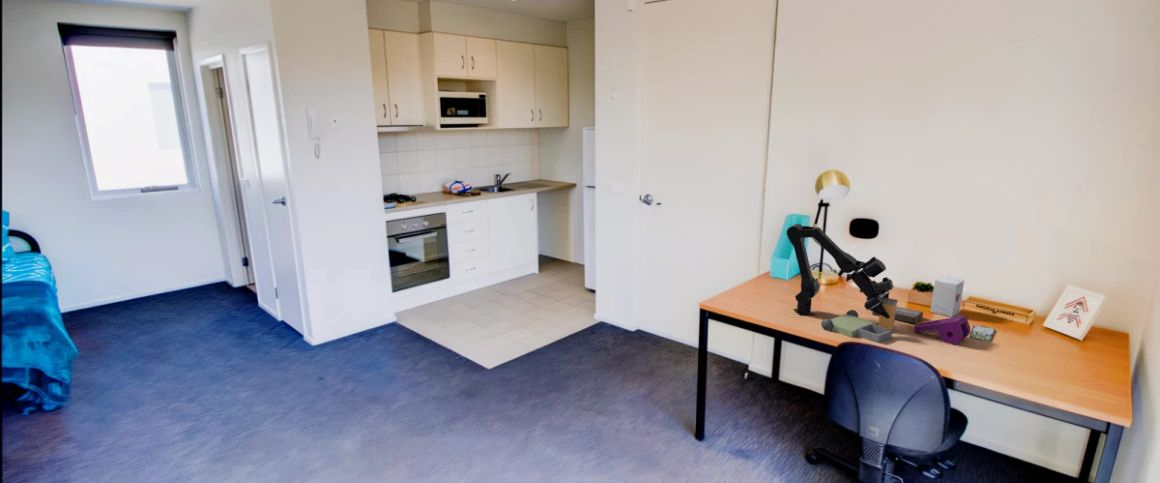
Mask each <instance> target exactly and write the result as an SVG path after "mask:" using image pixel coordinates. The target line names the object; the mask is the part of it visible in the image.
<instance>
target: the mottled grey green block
mask: <svg viewBox="0 0 1160 483" xmlns="http://www.w3.org/2000/svg"><path fill="white" fill-rule="evenodd" d="M995 330H996V329H995V328H994V327H990V326H989V327H988V326H983V325H979V324H973V326H972V328H971V329H970V334H969V335H968V338H969V339H973V340H977V341H980V342H981V341H982V342H987V343H991V342H992V339H993V337H994V334H995Z"/></svg>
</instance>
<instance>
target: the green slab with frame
mask: <svg viewBox="0 0 1160 483" xmlns="http://www.w3.org/2000/svg"><path fill="white" fill-rule="evenodd" d="M820 324H821V328H822V329H823V330H824V331H831V332H835V333H837V334H841V335H843V336H846V337H848V338H853V337H856V336H857V337H860V338H863V339H866V340H868V341H870V342H875V343H877V344H879V343H882V342H884V341H886V340H889V339H891V338H892V334H893V333H892V330H889V329H886V328H883V327H880V326H878V325H877V324H876V322H874V321H871V320H869V319H865V318H861V317H859V313H858V312H857V310H855V309H851V310H850V309H849V310H848V311H846V313H845V314H842V315H840V316H837V317H834V318H831V319H830V318H825V319H822V320H821V322H820Z"/></svg>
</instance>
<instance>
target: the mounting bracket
mask: <svg viewBox="0 0 1160 483" xmlns="http://www.w3.org/2000/svg"><path fill="white" fill-rule="evenodd" d="M913 329H914V331H915V332H916V333H922V332H929V331H937V334H938V336H939V339H940V340H941V341H942V342H943V343H945V344H950V345H957V344H958V343H959V342H961V341H962V340H964V339H965V338H967V337H969V335H970V333H971V325H970V323H969V320H968V318H967V315H961V316H953V317H947V318H941V319H935V320H934V319H933V320H928V321H924V322H920V323H917V324H916V323H915V325H913Z"/></svg>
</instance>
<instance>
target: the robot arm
mask: <svg viewBox="0 0 1160 483" xmlns="http://www.w3.org/2000/svg"><path fill="white" fill-rule="evenodd" d="M786 236H787V238H788V240H789V243H790V244H791V245H792V246H793V248H794V252H795V258H796V261H797V265H798V268H799V269H798V270H799V274H800V278H801V280H800V281H801V282H800V291H799V292H798V293H797V294H796V295H795V296H794V298H795V300H796V302H797V304H796V308H793V311H794V312H795V313H797V315H799V316H809V315H811V316H813V315H814V312H812V311H811V310H812V300H813V298H814V297H815V296H816V295H817V294H818V293H819V292H820V288H821V285H820V284H819V283H820V282H819V278H818V277H817V278H815V277H814V276H813V274H812V270H811V265H810V261H809V257H808V254H807V249H806V244H805V240H806V238H807V239H808V238H813V239H814V240H815V241H816V242H817V244H819V245H820V246H821V247H822V248H823V249H824V250H825V251H826V252H827V253H828V254H829V255H830V256H832V258H833V259H834V261H835V263H836V265H837V266H838V268H839V270H840V271H841V272H842V273H845V274H846V275H845V276H846V279H845V281H846V282H849V281H850V280H851V281H853V283H854V284H855V286H856V287H857V288H858V289H859V292H860V293H861V294H863V295H864V296H865V297H866V301H865V302H864V304H863V306H864V308H865V309H866V310H867V311H870V312H872V311H873V312H875V313H877V314H879V315H881V316H883V317H885V318H887V319H888V318H890V316H889V314H888V313H887V311H886V310H885V308H884V307H883V301H882V298H883V297H884V298H890V291H891V290H893V288H894V284H893V280H891V278H889V277H887V276H886V277H883V278H882V279H881V280H882V281H879V282H877V281H876V280H872V279H871V278H873V279H874V278H876V277H877V276H878V275H880V274H883V272H885V271H887V267H886V265H885V264H884V263H883V261H881V260H880V259H878V258H877V257H876V256H872V257H871V258H870V259H869V260H867V261H866V262H864V261H860V260H858V259H856V258H855V257H854V256H852V255H851V254H850V253H847V252H845V251H844V250H842V249H841V248H840V247H839V246H838V245H837V244H836V243H835V242H834V241H833V240H832V239H831V238H830V237H829V236H828V235H827V234H826V233H825V232H824V231H823V230H822V228H820V227H819V226H816V227H814V226H808V225H802V224H801V223H796V224H792V225H791V226H789V227H788V228H787V230H786Z"/></svg>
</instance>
